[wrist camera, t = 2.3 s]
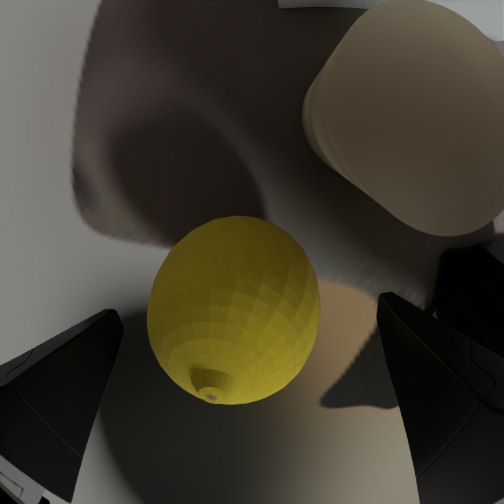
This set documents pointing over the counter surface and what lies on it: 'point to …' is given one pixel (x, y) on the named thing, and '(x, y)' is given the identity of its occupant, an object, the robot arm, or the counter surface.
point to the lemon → (234, 310)
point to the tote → (464, 3)
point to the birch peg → (414, 116)
